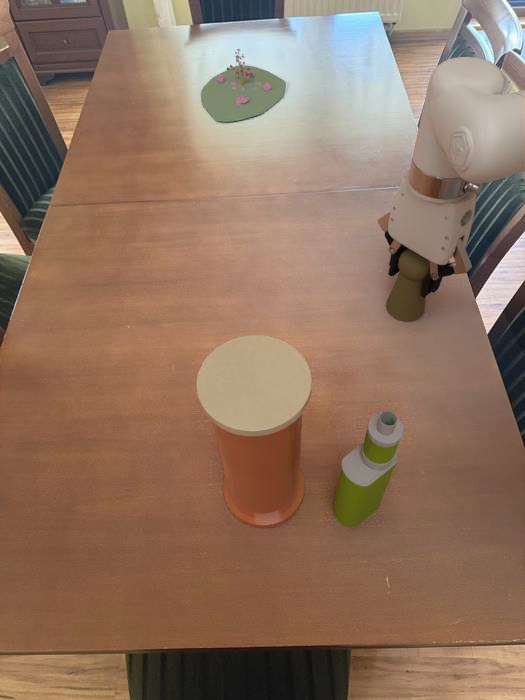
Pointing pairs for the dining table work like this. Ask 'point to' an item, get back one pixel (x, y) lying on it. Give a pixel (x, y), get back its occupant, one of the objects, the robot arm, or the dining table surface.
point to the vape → (367, 471)
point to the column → (258, 424)
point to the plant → (241, 92)
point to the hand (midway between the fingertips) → (412, 280)
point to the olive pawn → (408, 287)
